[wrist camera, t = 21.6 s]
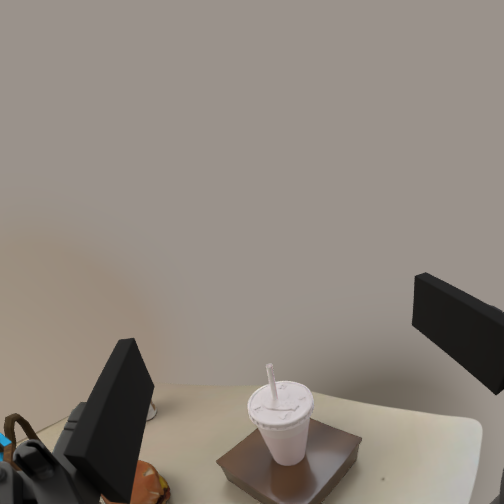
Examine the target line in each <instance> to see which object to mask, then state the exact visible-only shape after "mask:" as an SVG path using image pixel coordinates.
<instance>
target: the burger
mask: <svg viewBox="0 0 504 504" xmlns="http://www.w3.org/2000/svg"><path fill="white" fill-rule="evenodd" d="M169 491H170V488H169V486H168V484H167V482H166V480H165V479H164V478H163V477H162V476H160V475H159V474H158V472H157V471H156V469H155V468H154V467H153V466H152V465H151V464H149V463H147V462H144V461H141V460H138V462H137V468H136V473H135V478H134V484H133V489H132V495H131V501H130V504H165V503H166V500H168V499H169V498H170V492H169ZM101 496H102V498H103V500H104V501H105V503H106V504H123V503H115V502H110V501H108V500H107V499H106V498H105V497H104V496H103V495H102V494H101Z"/></svg>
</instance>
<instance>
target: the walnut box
mask: <svg viewBox="0 0 504 504" xmlns="http://www.w3.org/2000/svg"><path fill="white" fill-rule="evenodd" d="M361 441H362V438H361V437H358V436H355V435H352V434H350V433H347V432H344V431H341V430H339V429H336V428H333V427H331V426H328V425H326V424H323V423H321V422H318V421H316V420H313V419H311V418H310V420H309V427H308V435H307V443H306V450H305V456H304V458H303V459H302V460H301V461H300V462H299V463H297V464H295V465H291V466H284V465H281V464H279V463H277V462H276V461H275V460H274V458H273V456H272V454H271V452H270V450H269V448H268V446H267V444H266V442H265V440H264V438H263V437H262V435H261V433H260V431H259V429H258V428H257V429H256V430H255V431H254V432H252V433H251V434H250V435H249V436H247V437H246V438H245V439H244V440H243V441H241V442H240V443H239V444H238V445H236V446H235V447H234V448H232V449H231V450H230V451H229V452H227V453H226V454H225V455H223V456H222V457H221V458H219V459H218V460H217V461H216V463H217V464H218V465H219V466H221V468H222V470H223V472H224V473H225V475H226V477H227V479H228V480H229V481H231V482H232V483H233V484H235V485H236V486H238V487H239V488H240V489H242V490H243V491H245V492H246V493H248V494H249V495H251V496H252V497H253V498H255V499H257V500H258V501H260V502H261V503H263V504H321V502H322V501H323V500H324V499H325V498H326V497H327V496H328V494H329V493H330V492H331V491H332V490H333V489H334V487H335V486H336V485H337V484H338V483H339V481H340V480H341V479H342V478H343V476H344V475H345V474H346V472H347V471H348V470H349V469H350V467H351V466H352V465H353V463H354V462H355V460H356V459H357V454H358V448H359V444H360V443H361Z"/></svg>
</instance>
